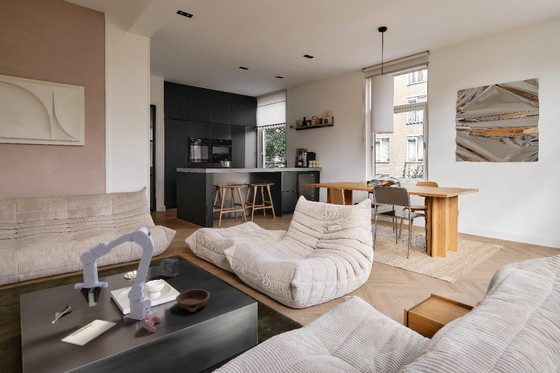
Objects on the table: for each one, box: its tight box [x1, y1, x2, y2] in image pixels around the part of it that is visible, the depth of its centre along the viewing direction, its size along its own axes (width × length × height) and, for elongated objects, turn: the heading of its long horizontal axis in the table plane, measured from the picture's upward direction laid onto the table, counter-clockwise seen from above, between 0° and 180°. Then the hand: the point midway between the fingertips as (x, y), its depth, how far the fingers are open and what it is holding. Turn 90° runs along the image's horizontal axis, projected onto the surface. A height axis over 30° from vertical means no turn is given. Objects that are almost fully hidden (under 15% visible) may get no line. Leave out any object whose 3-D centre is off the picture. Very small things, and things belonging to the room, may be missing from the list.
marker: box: [88, 289, 98, 309], centre depth 153 cm, size 3×3×8 cm
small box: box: [159, 257, 180, 279], centre depth 211 cm, size 11×6×10 cm, turn 66°
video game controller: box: [142, 313, 162, 333], centre depth 147 cm, size 10×5×7 cm, turn 5°
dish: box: [175, 288, 211, 313], centre depth 169 cm, size 18×22×5 cm
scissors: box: [50, 304, 73, 325], centre depth 161 cm, size 8×21×2 cm, turn 9°
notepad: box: [60, 319, 117, 347], centre depth 144 cm, size 12×18×1 cm, turn 162°
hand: (92, 302), depth 153 cm, fingers closed on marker, 3 cm apart
